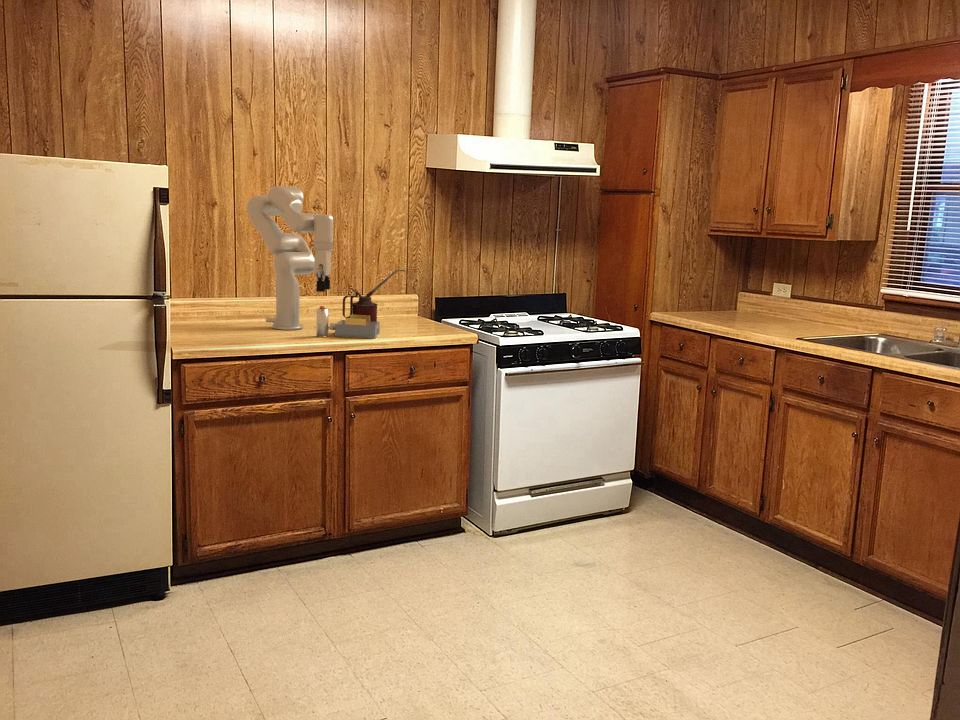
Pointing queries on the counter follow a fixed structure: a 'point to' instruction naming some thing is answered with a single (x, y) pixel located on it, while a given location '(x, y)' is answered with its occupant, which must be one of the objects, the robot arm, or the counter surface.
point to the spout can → (322, 321)
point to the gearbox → (356, 327)
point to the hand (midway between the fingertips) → (323, 290)
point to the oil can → (364, 303)
